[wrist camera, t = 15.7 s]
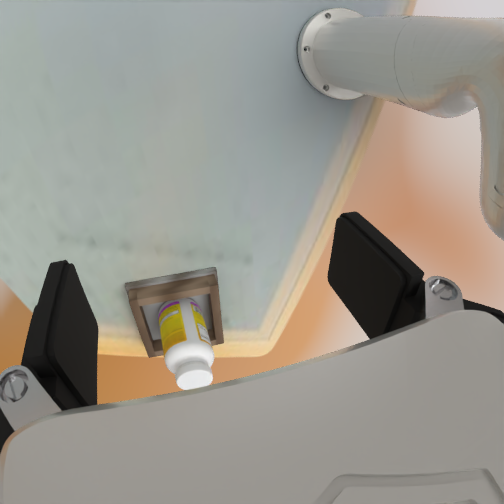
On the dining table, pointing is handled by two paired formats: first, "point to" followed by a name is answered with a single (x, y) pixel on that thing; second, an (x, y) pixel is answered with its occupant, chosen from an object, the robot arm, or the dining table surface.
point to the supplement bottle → (186, 343)
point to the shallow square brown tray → (172, 288)
